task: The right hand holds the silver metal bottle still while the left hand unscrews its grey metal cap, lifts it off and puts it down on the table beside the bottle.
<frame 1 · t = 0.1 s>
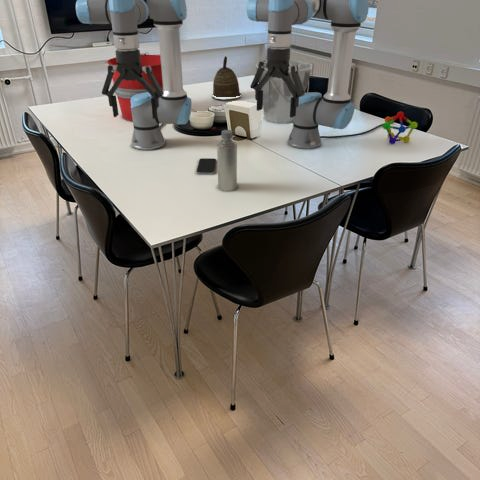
left hand: (135, 116, 150), 28 cm above the table, tool pointing down, fingers open, 13 cm apart
right hand: (275, 113, 154), 28 cm above the table, tool pointing down, fingers open, 13 cm apart
cap: (226, 132, 157), point 21 cm above the table, screwed on, not yet turned
bucket: (280, 118, 243), on the table
bottle: (227, 187, 168), on the table
smartphone: (206, 167, 185), on the table
educational toy: (395, 143, 211), on the table
bucket 2: (144, 115, 248), on the table
bell: (226, 97, 281), on the table
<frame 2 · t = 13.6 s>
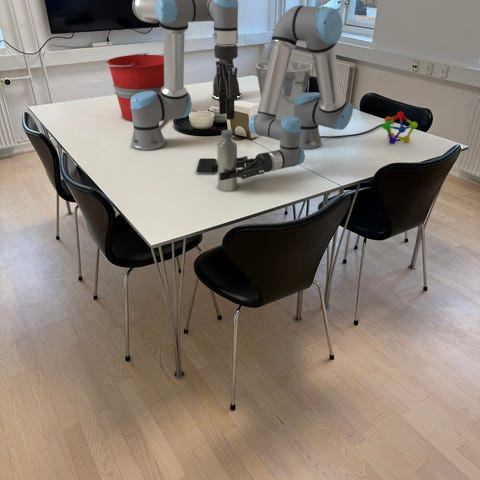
left hand: (226, 116, 154), 27 cm above the table, tool pointing down, fingers open, 6 cm apart
right hand: (215, 173, 163), 7 cm above the table, tool horizontal, fingers closed on bottle, 7 cm apart
bottle: (227, 187, 168), on the table, touching right hand
everything else where it was.
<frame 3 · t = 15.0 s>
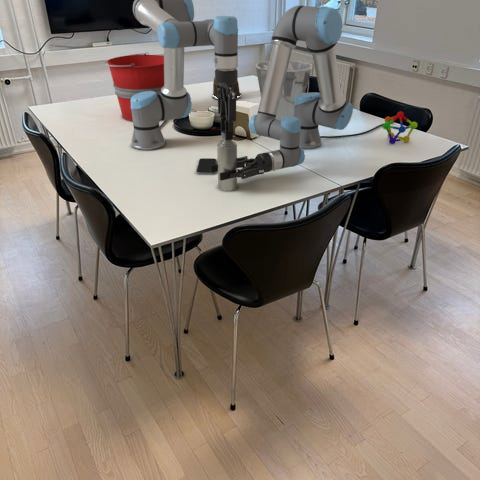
left hand: (226, 137, 158), 19 cm above the table, tool pointing down, fingers closed on cap, 4 cm apart
right hand: (215, 173, 163), 7 cm above the table, tool horizontal, fingers closed on bottle, 7 cm apart
cap: (226, 132, 157), point 21 cm above the table, screwed on, not yet turned, touching left hand
bottle: (227, 187, 168), on the table, touching right hand
everything else where it was.
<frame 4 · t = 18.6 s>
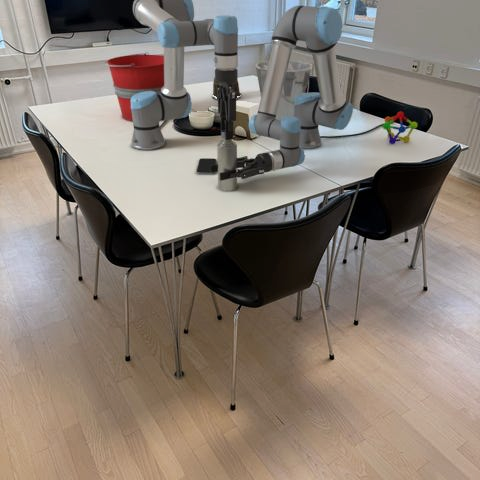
left hand: (226, 137, 158), 20 cm above the table, tool pointing down, fingers closed on cap, 4 cm apart
right hand: (215, 173, 163), 7 cm above the table, tool horizontal, fingers closed on bottle, 7 cm apart
cap: (226, 131, 157), point 22 cm above the table, turned 132° so far, risen 0.1 cm, still on its thread, touching left hand
bottle: (227, 187, 168), on the table, touching right hand
everything else where it was.
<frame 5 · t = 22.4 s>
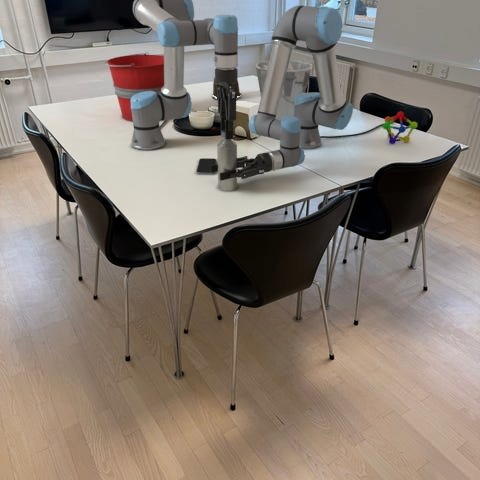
left hand: (226, 136, 158), 20 cm above the table, tool pointing down, fingers closed on cap, 4 cm apart
right hand: (215, 173, 163), 7 cm above the table, tool horizontal, fingers closed on bottle, 7 cm apart
cap: (226, 131, 157), point 22 cm above the table, turned 264° so far, risen 0.3 cm, still on its thread, touching left hand
bottle: (227, 187, 168), on the table, touching right hand
everything else where it was.
when the left hand's fingers open (1 cm above the table, at t = 29.9 s): cap drops 1 cm, point 2 cm above the table.
when the right hand's fingers open (7 cm above the table, at t = 31.2 s): bottle stays where it is, on the table.
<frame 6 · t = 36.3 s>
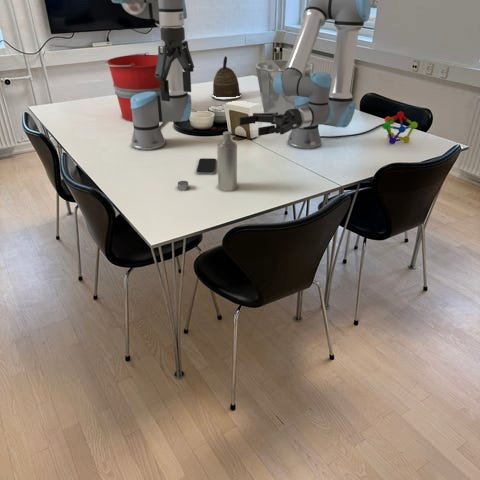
left hand: (176, 96, 149), 34 cm above the table, tool pointing down, fingers open, 13 cm apart
right hand: (249, 126, 160), 22 cm above the table, tool horizontal, fingers open, 13 cm apart
cap: (183, 183, 166), point 2 cm above the table, off its thread
bottle: (227, 187, 168), on the table
everything else where it was.
at the end: cap came off its thread; cap point 1.8 cm above the table; the left hand is holding nothing; the right hand is holding nothing; bottle tilted 0°; bottle moved 0.0 cm from its start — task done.
